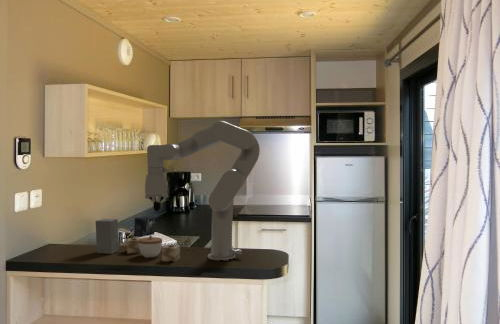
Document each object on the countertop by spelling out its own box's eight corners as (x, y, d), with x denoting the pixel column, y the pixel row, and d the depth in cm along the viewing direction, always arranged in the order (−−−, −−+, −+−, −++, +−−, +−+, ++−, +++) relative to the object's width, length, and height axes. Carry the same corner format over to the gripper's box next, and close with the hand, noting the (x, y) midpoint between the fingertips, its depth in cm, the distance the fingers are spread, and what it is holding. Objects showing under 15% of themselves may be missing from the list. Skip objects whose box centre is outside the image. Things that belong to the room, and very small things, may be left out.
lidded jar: (150, 252, 197) (150, 232, 197) (166, 255, 192) (167, 235, 192) (133, 256, 188) (133, 236, 188) (150, 260, 182) (150, 239, 182)
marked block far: (140, 250, 202) (140, 237, 202) (140, 252, 196) (140, 240, 196) (127, 250, 200) (128, 237, 200) (127, 253, 194) (127, 240, 194)
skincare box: (119, 251, 198) (119, 218, 198) (110, 254, 191) (110, 220, 191) (103, 250, 200) (104, 217, 200) (94, 253, 193) (95, 219, 193)
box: (141, 236, 235) (141, 218, 235) (133, 235, 238) (133, 217, 238) (155, 234, 244) (155, 216, 244) (147, 232, 247) (147, 215, 247)
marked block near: (179, 258, 186) (180, 245, 186) (174, 262, 180) (175, 247, 180) (167, 257, 187) (167, 244, 187) (162, 261, 181) (162, 247, 181)
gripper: (173, 170, 195) (174, 209, 195) (142, 171, 195) (143, 210, 195) (170, 171, 188) (171, 211, 188) (137, 172, 188) (139, 212, 188)
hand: (157, 210), depth 191 cm, fingers closed
